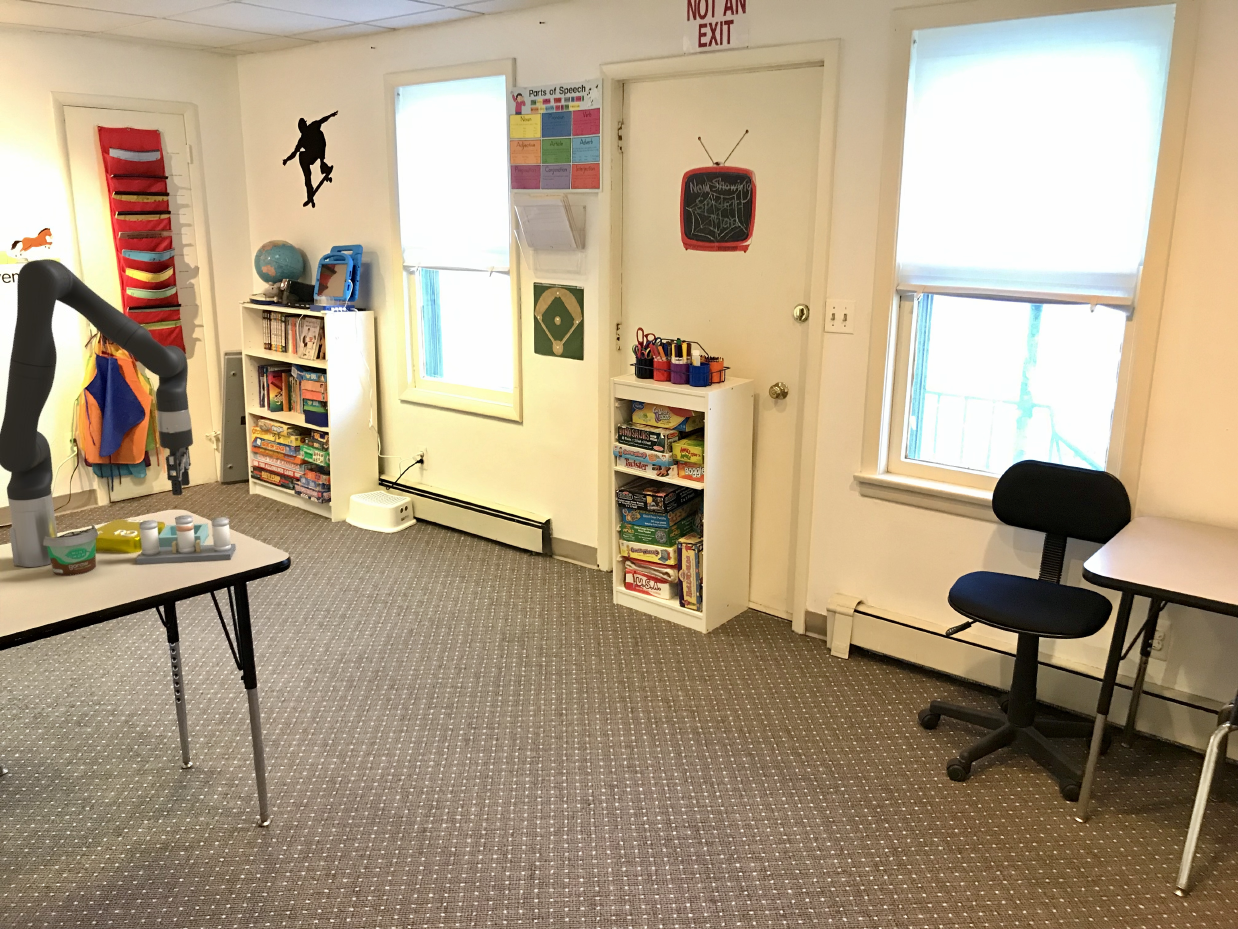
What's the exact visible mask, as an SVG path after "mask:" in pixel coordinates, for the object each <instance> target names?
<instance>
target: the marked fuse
mask: <svg viewBox="0 0 1238 929" xmlns="http://www.w3.org/2000/svg"><path fill="white" fill-rule="evenodd" d="M174 519H175V525H176V531H177V541H178V552H179V553H181V554H188V553H192V552H195V551H196V546H195V538H194V525H193V524H194V517H193V515H191V514H190V515H189V514H184V515H178V516H175V517H174Z"/></svg>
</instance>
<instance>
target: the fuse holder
mask: <svg viewBox="0 0 1238 929" xmlns="http://www.w3.org/2000/svg"><path fill="white" fill-rule="evenodd" d="M142 521H143V522H140V523H139V528H140V536H141V545H142V551H140V553H139V554H138V556H136V565H148V564H149V565H151V564H167V563H168V564H169V563H170V564H171V563H189V562H190V563H191V562H193V563H194V562H210V561H211V562H212V561H230V560H232V558H233V555H234V554H235V551H236V547H237V546H236V543H231V534H230V519H229V518H228V517H225V516H224V517H223V516H222V517H215V518H213V519H211V529H212V530H211V531H212V540H213V541H212V542H213V544H204V545H201V540H197V541H196V551H195V552H192V553H188V554H181V553H179V552H178V546H177V541H173V543H172V547H159V538H158V528H157V527H158V526H157V520H153V519H152V520H151V519H150V520H142Z"/></svg>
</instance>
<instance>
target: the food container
mask: <svg viewBox="0 0 1238 929" xmlns="http://www.w3.org/2000/svg"><path fill="white" fill-rule="evenodd" d="M57 536H58V535H57ZM97 537H98V532H97V528H96V527H95V525H94V524H91V527H90V528H87V529H84V530H79V531H78V530H77V531H70V532H67V533H64V534H62V535H59V536H58V537H55V538H52V537H46V536H45V539H44V543H43V545H45V546H47V549H48V553H49V557H50V561H51V564H50V565H51V568H52V572H53V574H54V575H55V576H59V577H68V576H69V577H71V576H78V575H83V574H85V573H86V574H87V573H89V572H91V571H93V570H95V569H96V566H97V563H96V562H97V559H96V555H97V554H96V552H97V551H96V544H95V538H97Z"/></svg>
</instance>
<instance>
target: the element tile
mask: <svg viewBox="0 0 1238 929" xmlns="http://www.w3.org/2000/svg"><path fill="white" fill-rule="evenodd" d="M143 521H144V520H142V519H141V520H139V519H122V518H117V519H114V520H112V521H109V522H107V523H106V524H104V525H102V526H99V527H97V528H96V529H97V532H98V537H97V538H95V544H96V552H104V553H118V554H119V553H121V554H137V553H139V552H140V553H141V552H142V545H141V536H140V528H139V523H140V522H143ZM156 521H157V520H156ZM157 526H158V527H157V528H158V536H159V535H160V533H161V532H162V531H163V529H164V528H165V527H166V522H164V521H157Z"/></svg>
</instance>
